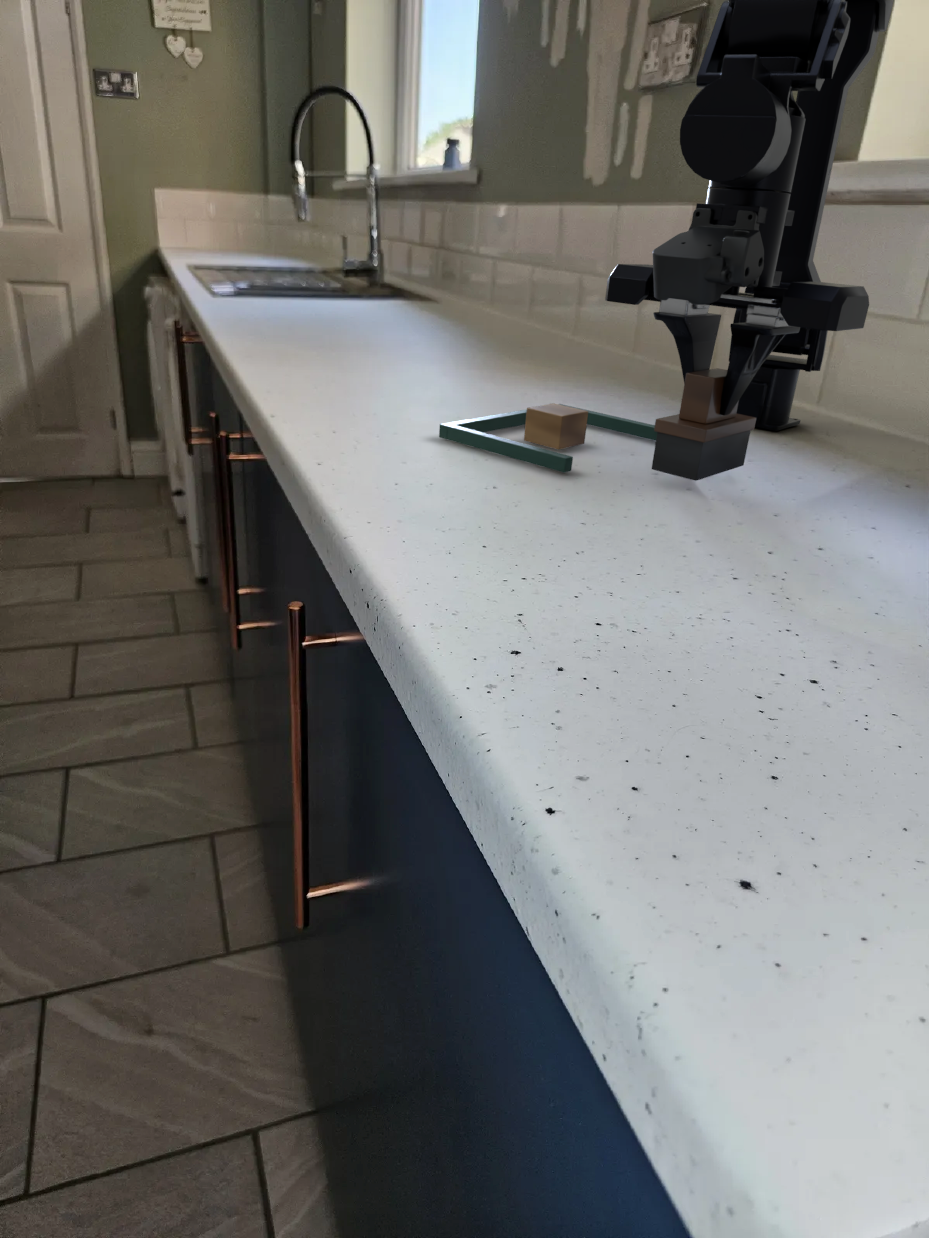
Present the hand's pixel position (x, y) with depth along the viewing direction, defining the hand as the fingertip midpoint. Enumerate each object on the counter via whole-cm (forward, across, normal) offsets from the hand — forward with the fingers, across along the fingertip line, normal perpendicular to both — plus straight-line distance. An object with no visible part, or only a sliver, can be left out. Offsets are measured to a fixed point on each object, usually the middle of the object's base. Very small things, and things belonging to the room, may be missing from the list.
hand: (708, 411), depth 69 cm
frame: (+6, -14, +1) cm, 15 cm away
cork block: (+6, -14, 0) cm, 15 cm away
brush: (+4, 0, 0) cm, 4 cm away
